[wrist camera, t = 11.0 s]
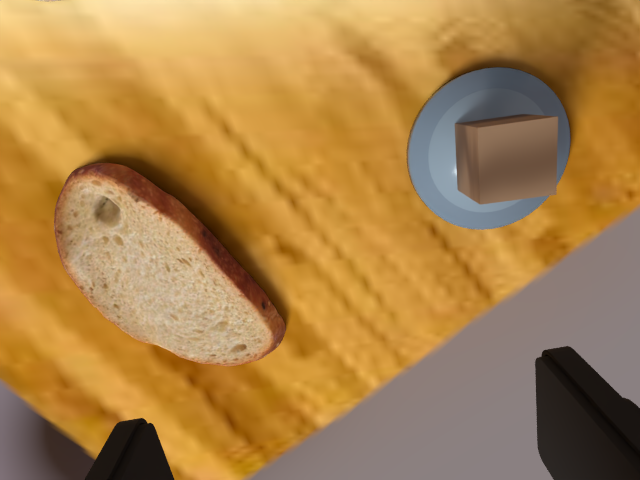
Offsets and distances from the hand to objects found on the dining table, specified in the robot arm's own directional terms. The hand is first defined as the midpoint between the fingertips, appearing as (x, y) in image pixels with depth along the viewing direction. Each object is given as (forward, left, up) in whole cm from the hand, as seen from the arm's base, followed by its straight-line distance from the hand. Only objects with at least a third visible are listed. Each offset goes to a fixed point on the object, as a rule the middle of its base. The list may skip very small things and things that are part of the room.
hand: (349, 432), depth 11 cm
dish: (-2, +13, -26) cm, 29 cm away
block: (-2, +13, -25) cm, 28 cm away
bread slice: (+4, -13, -27) cm, 30 cm away
